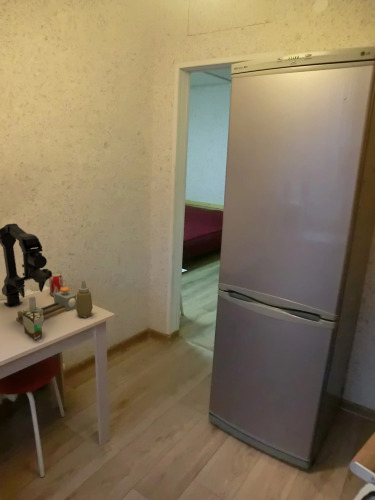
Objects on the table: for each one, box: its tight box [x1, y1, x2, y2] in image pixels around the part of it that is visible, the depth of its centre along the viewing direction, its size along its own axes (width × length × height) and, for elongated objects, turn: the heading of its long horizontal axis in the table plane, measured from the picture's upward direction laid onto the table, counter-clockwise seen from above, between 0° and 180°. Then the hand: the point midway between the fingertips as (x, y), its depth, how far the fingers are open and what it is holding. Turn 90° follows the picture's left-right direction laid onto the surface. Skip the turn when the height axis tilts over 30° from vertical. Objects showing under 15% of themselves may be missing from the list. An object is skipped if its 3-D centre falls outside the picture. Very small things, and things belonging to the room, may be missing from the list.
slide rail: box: [15, 302, 67, 326], centre depth 169 cm, size 9×22×4 cm, turn 147°
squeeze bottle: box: [75, 280, 94, 318], centre depth 170 cm, size 8×8×18 cm
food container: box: [22, 310, 45, 342], centre depth 151 cm, size 12×6×10 cm, turn 48°
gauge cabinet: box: [53, 291, 77, 312], centre depth 180 cm, size 10×6×7 cm, turn 57°
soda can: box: [48, 272, 64, 297], centre depth 194 cm, size 7×7×12 cm
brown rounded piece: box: [60, 286, 70, 295], centre depth 179 cm, size 4×4×4 cm
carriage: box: [22, 296, 43, 314], centre depth 164 cm, size 7×6×8 cm
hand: (32, 294), depth 162 cm, fingers open, 9 cm apart
